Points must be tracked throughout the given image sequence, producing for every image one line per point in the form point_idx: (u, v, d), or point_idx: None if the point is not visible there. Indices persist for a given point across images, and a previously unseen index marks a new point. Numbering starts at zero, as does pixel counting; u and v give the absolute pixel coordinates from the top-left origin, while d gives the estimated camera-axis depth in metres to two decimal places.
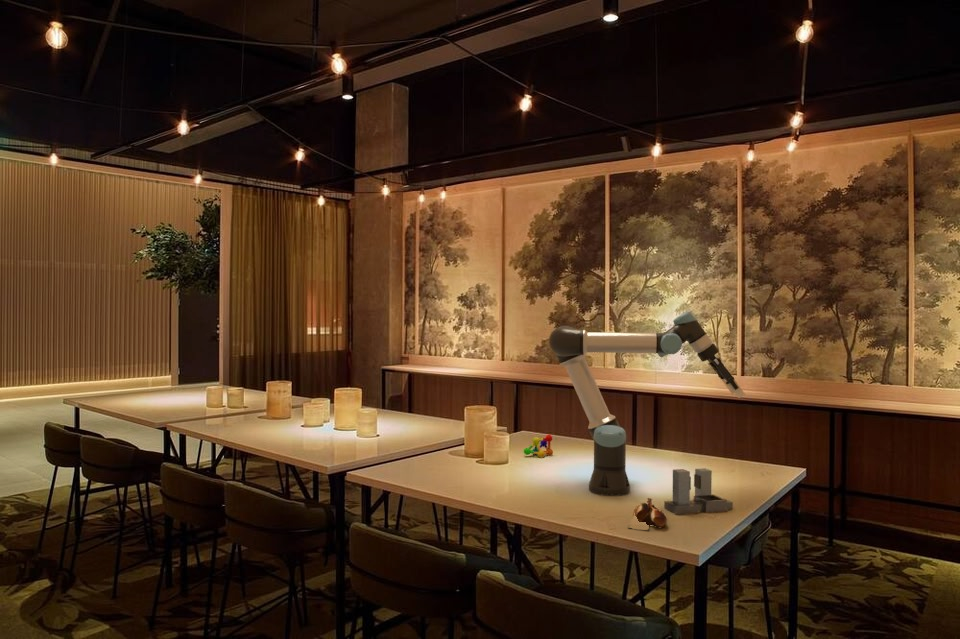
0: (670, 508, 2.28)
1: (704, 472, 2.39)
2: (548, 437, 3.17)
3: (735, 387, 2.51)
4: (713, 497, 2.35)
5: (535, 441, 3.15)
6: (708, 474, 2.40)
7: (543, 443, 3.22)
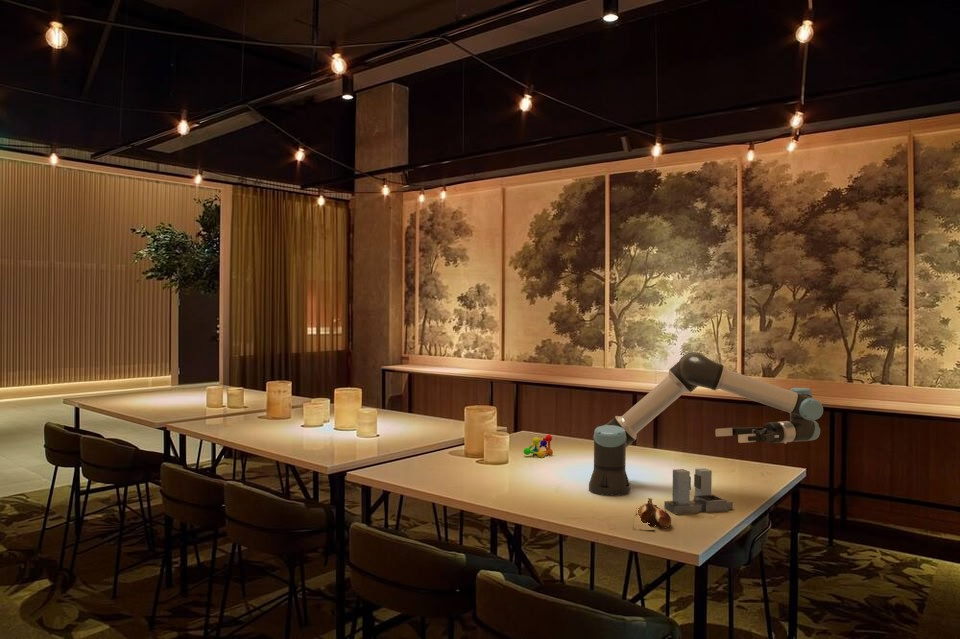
0: (670, 508, 2.28)
1: (704, 472, 2.39)
2: (548, 437, 3.17)
3: (752, 438, 2.37)
4: (713, 497, 2.35)
5: (535, 441, 3.15)
6: (708, 474, 2.40)
7: (543, 443, 3.22)
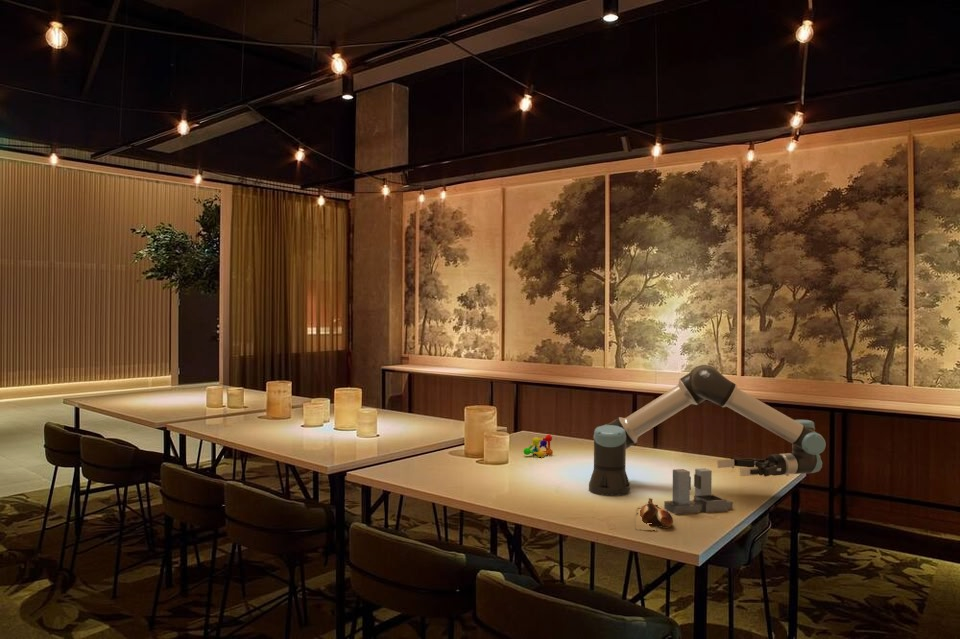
0: (670, 508, 2.28)
1: (704, 472, 2.39)
2: (548, 437, 3.17)
3: (754, 471, 2.37)
4: (713, 497, 2.35)
5: (535, 441, 3.15)
6: (708, 474, 2.40)
7: (543, 443, 3.22)
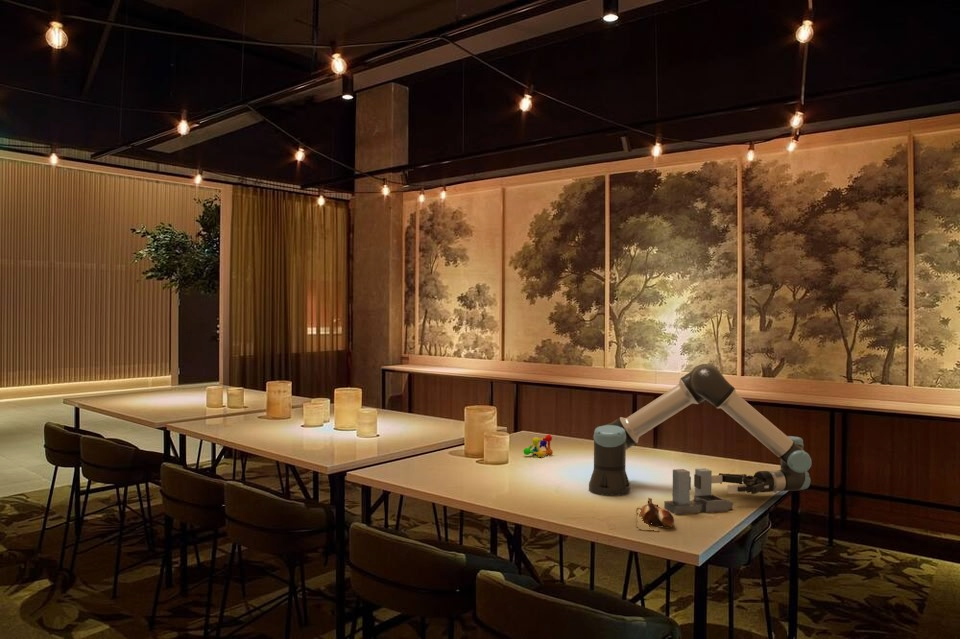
0: (670, 508, 2.28)
1: (704, 472, 2.39)
2: (548, 437, 3.17)
3: (741, 489, 2.35)
4: (713, 497, 2.35)
5: (535, 441, 3.15)
6: (708, 474, 2.40)
7: (543, 443, 3.22)
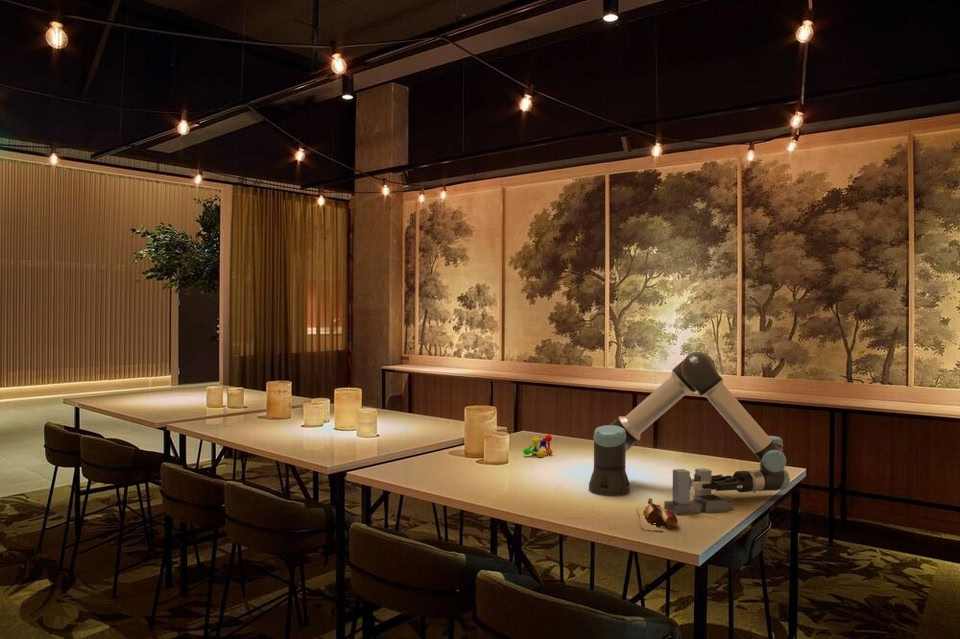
0: (670, 508, 2.28)
1: (704, 472, 2.39)
2: (548, 437, 3.17)
3: (706, 486, 2.37)
4: (713, 497, 2.35)
5: (535, 441, 3.15)
6: (708, 473, 2.40)
7: (543, 443, 3.22)
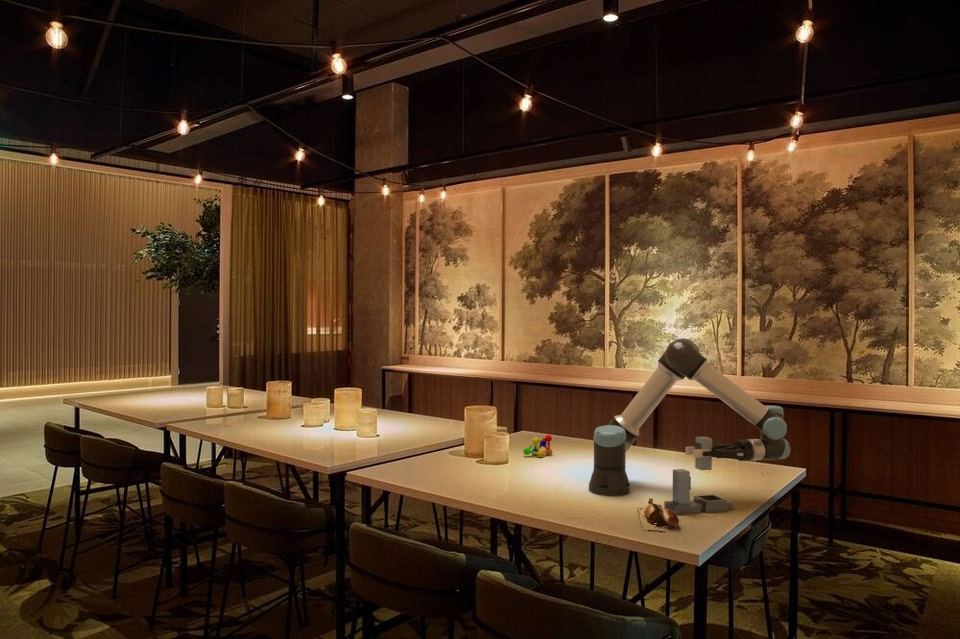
0: (670, 508, 2.28)
1: (705, 440, 2.39)
2: (548, 437, 3.17)
3: (706, 453, 2.37)
4: (713, 497, 2.35)
5: (535, 441, 3.15)
6: (709, 441, 2.40)
7: (542, 443, 3.22)
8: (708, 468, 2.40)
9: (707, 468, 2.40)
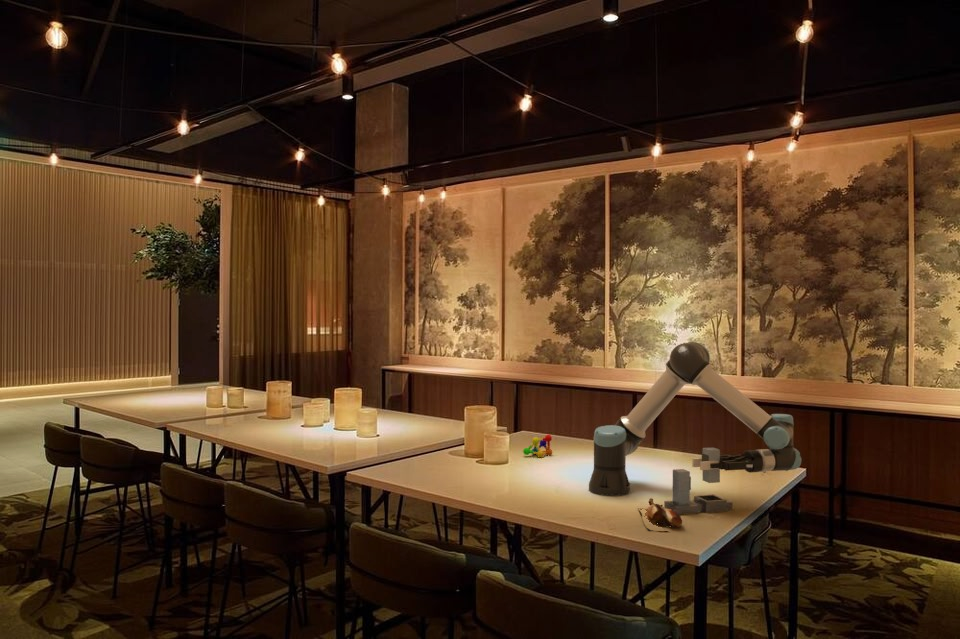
0: (670, 508, 2.28)
1: (712, 451, 2.29)
2: (547, 437, 3.17)
3: (714, 465, 2.27)
4: (713, 497, 2.35)
5: (534, 441, 3.15)
6: (717, 453, 2.30)
7: (542, 443, 3.22)
8: (716, 481, 2.30)
9: (715, 481, 2.29)
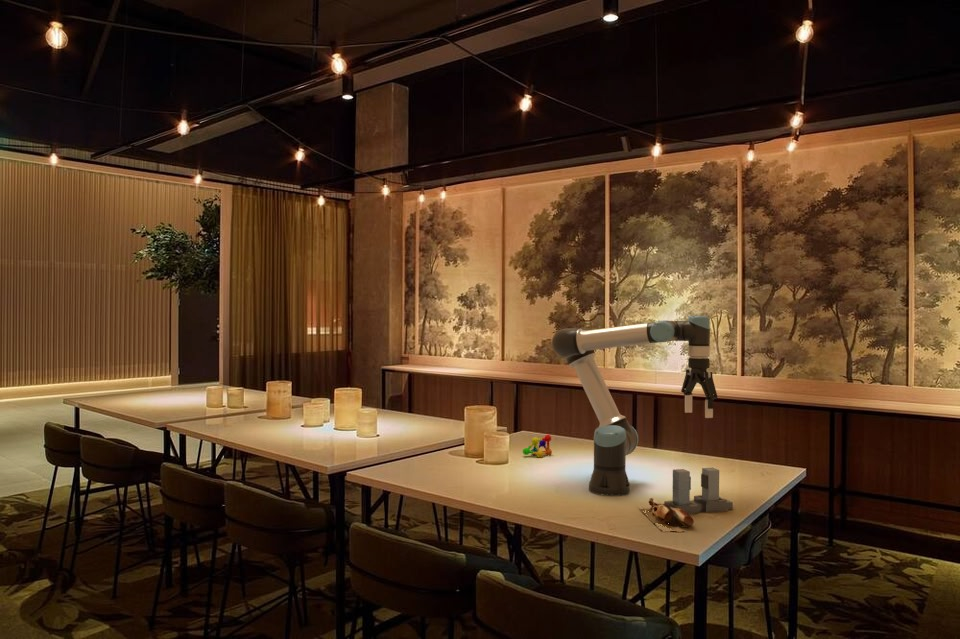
0: None
1: (711, 471, 2.29)
2: (547, 437, 3.17)
3: (711, 406, 2.44)
4: None
5: (534, 441, 3.14)
6: (716, 473, 2.30)
7: (542, 443, 3.22)
8: None
9: None
